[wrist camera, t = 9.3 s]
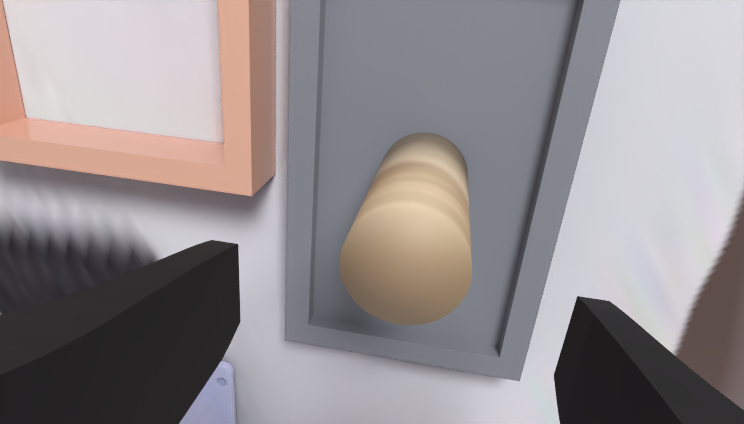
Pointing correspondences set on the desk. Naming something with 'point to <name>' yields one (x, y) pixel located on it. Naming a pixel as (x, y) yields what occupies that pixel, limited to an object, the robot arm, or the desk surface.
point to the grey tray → (460, 126)
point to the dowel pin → (412, 234)
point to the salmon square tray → (163, 153)
